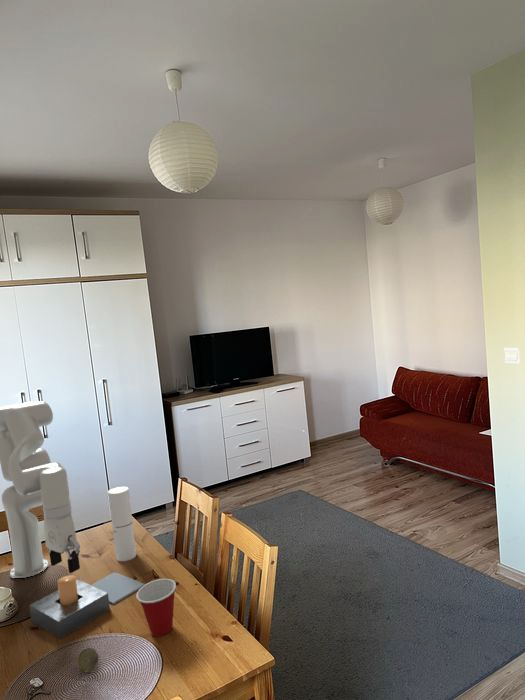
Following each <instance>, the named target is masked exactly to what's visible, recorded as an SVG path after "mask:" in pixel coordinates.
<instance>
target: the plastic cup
mask: <svg viewBox="0 0 525 700" xmlns="http://www.w3.org/2000/svg"><path fill="white" fill-rule="evenodd" d="M144 584H145V583H144ZM176 585H177V583H176V581H174V580H173V579H169V578H159V579H158V578H157V579H155V580H151V581H150V582H148V583H146V584H145V585H144V586H143V587H141V588H140V589H139V590H137V591H136V600H137V601H138V602H139V603H140V605H141V608H142V610H143V613H144V616H145V619H146V623H147V624H148V627H149V631H150V634H152V636H154V637H164V636H165V635H168V634H169V633H170V632H172V630H171V629H173V624H174V622H173V621H174V620H173V619H174V607H175V605H174V603H175V602H174V601H175V592H176V589H177V586H176Z"/></svg>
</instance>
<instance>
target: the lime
mask: <svg viewBox="0 0 525 700" xmlns="http://www.w3.org/2000/svg"><path fill="white" fill-rule="evenodd" d="M98 654H99V653H98V652H97V650H95V649H94V648H92V647H91V648H90V647H88V648H85V649H84V650H82V651H81V653H80V654H79V655H78V658H77V665H78V667H79V668H80V670H81V671H82V672H85V673H91V672H92V671H93V670H95V669H96V667H97V665H98V662H99V655H98Z"/></svg>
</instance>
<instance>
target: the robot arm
mask: <svg viewBox="0 0 525 700" xmlns="http://www.w3.org/2000/svg"><path fill="white" fill-rule="evenodd" d="M53 419H54V413H53V410H52V407H51V406H50V405H49V404H48V402H46V401H43V400H34V401H28V402H22V403H17V404H10V405H5V406H0V469H1V474H2V476H3V478H4V480H5V481H6V482H12V484H13V485H11V486H9V487H7V488H5V489H4V490H3V492H2V494H1V503H2V505H3V509H4V512H5V515H6V521H7V526H8V533H9V537H10V538H9V539H10V547H11V554H12V561H13V568H11V570H10V572H9V576H10V578H12V579H14V578H25V579H27V578H26V577H30V576H33V577H35V576H34V575H36V574H38V573H40V572H42V571H43V572H45V571H46V570H47V569H48V568H49V565H50V566H51V567H53V566H55V565H57V564H60V563H62V561H63V559H62V554H64V553H65V554H66V556H67V560H66V561H67V568H68V573H69V574H72V573H74V572H76V571H78V570H80V569H81V565H80V557H79V556H80V552H81V551H80V549H81V544H80V542H79V541H77V540H78V539H77V534H76V529H75V525H74V524H75V523H74V519H73V516H72V514H73V509H72V503H71V495H70V489H69V481H68V480H69V479H68V475H67V469H66V468H65V467H64V466H63V465H62V464H61V463H59V462H57V461H53V462H51V457H50V455H49V453H48V451H47V450H46V449H44V448H41V447H42V446H43V445H44V441H45V439H44V438H45V437H44V434H43V433H42V429H40V427H45V426H49V425H50V424H52V422H53ZM41 506H42V510H43V518H44V519H43V524H44V525H43V530H44V533H43V534H44V542H45V547H46V549H47V550H48V553H49V561H50V564H49V561H48V559H44V555H43V548H42V547H43V546H42V542H41V541H42V540H41V534H40V533H41V532H40V527H39V526H40V525H39V520H38V518H37V516H36V515H35V514H34V513H32V512H30V511H29V510H31V509H34V508H38V507H41ZM70 551H71V552H70ZM47 567H48V568H47ZM46 568H47V569H46ZM45 569H46V570H45ZM44 570H45V571H44ZM43 572H42V573H43ZM40 574H41V573H40ZM38 575H39V574H38ZM36 576H37V575H36ZM30 578H31V577H30Z"/></svg>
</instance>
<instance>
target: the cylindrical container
mask: <svg viewBox="0 0 525 700" xmlns="http://www.w3.org/2000/svg"><path fill="white" fill-rule="evenodd" d="M129 489H130V488H129V487H128V486H117V487H114V488H111V489H108V491H107V494H108V503H109V510H110V517H111V525H112V526H111V527H112V536H113V544H114V551H115V559H116V561H117V562H127V561H131V560H133V559H134V558H136V556H137V550H136V549H137V548H136V541H135V532H134V525H133V517H132V514H133V513H132V506H131V499H130V491H129Z"/></svg>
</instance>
